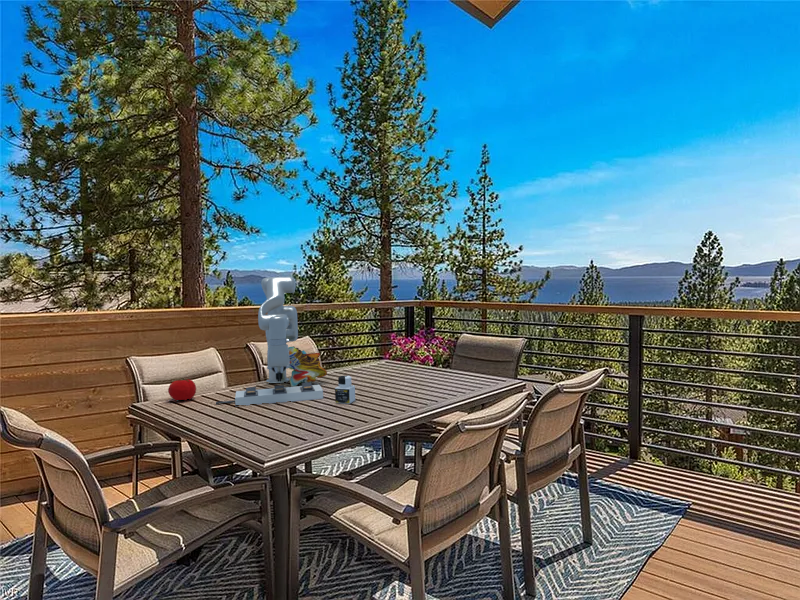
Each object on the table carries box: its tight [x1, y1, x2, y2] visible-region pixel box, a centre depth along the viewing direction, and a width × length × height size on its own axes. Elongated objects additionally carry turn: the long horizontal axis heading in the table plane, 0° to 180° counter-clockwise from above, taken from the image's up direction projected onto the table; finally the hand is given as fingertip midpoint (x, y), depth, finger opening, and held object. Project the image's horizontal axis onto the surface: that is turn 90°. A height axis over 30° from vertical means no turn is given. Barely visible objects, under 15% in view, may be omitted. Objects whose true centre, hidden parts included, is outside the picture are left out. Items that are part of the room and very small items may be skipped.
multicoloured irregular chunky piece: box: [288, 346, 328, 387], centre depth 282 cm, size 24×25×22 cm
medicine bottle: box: [334, 375, 356, 405], centre depth 242 cm, size 7×7×12 cm
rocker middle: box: [273, 384, 285, 393], centre depth 248 cm, size 7×4×2 cm, turn 16°
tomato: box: [167, 377, 197, 401], centre depth 254 cm, size 13×12×11 cm
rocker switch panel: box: [215, 384, 324, 406], centre depth 249 cm, size 14×49×5 cm, turn 106°
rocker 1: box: [245, 386, 257, 395], centre depth 244 cm, size 7×4×2 cm, turn 16°
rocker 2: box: [301, 382, 313, 391], centre depth 251 cm, size 7×4×2 cm, turn 16°
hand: (279, 380), depth 246 cm, fingers closed
